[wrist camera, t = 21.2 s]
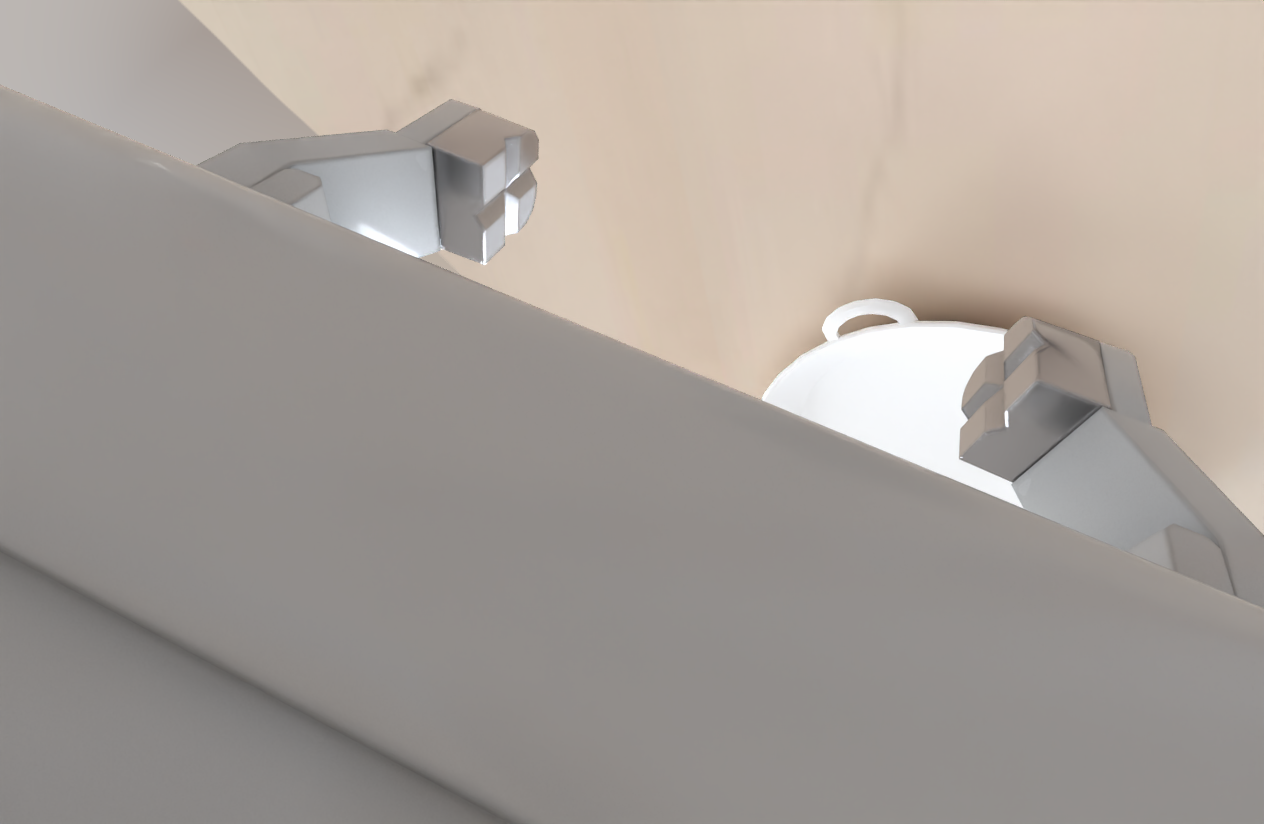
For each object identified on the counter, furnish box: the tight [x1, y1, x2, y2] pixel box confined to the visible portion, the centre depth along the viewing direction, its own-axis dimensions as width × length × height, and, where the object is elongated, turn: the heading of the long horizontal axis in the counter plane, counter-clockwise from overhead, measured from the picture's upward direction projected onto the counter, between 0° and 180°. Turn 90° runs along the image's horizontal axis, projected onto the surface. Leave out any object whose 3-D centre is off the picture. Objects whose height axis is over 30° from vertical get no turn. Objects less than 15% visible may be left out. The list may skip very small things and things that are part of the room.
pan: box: [762, 298, 1024, 509], centre depth 52 cm, size 34×28×4 cm
